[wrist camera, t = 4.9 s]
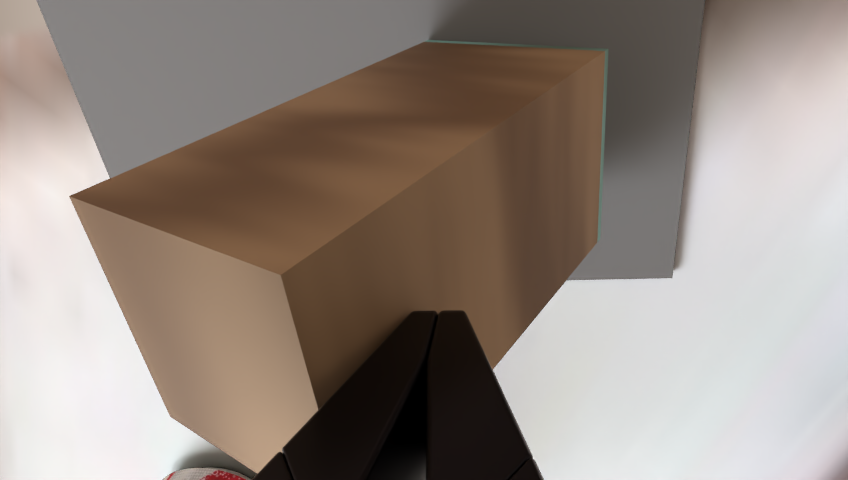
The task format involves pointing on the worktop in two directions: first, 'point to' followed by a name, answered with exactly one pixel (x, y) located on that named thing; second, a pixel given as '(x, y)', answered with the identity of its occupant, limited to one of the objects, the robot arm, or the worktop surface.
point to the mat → (372, 42)
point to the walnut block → (353, 228)
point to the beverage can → (206, 474)
